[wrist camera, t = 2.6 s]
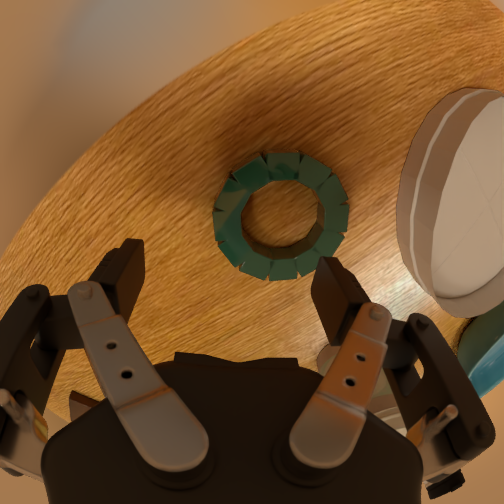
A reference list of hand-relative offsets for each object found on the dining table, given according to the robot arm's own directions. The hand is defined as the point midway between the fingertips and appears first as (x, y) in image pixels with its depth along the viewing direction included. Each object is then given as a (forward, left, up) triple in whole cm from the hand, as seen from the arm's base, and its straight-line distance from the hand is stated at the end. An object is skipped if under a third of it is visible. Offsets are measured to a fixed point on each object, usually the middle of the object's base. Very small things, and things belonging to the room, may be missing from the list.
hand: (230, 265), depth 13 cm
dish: (+21, +12, -8) cm, 26 cm away
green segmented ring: (+3, +1, -8) cm, 9 cm away
